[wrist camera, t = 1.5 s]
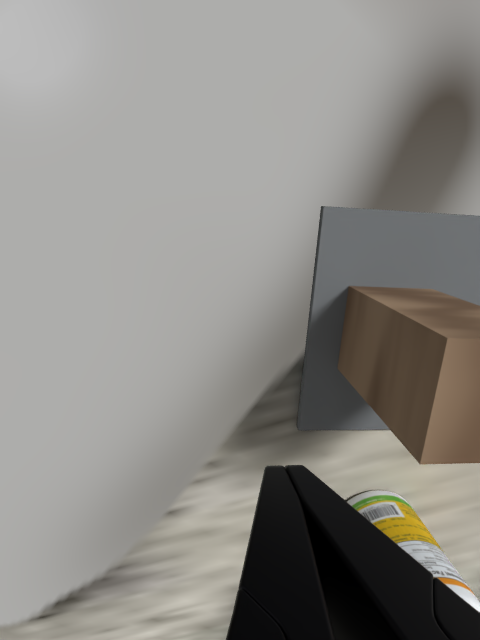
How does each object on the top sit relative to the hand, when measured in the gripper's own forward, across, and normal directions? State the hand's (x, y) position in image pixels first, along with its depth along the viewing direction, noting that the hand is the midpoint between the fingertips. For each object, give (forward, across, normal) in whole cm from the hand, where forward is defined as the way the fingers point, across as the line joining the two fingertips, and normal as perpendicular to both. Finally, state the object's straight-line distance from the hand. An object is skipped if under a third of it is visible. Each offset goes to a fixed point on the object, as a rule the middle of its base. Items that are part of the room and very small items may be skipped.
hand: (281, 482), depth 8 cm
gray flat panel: (+12, -11, 0) cm, 16 cm away
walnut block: (+11, -8, 0) cm, 14 cm away
